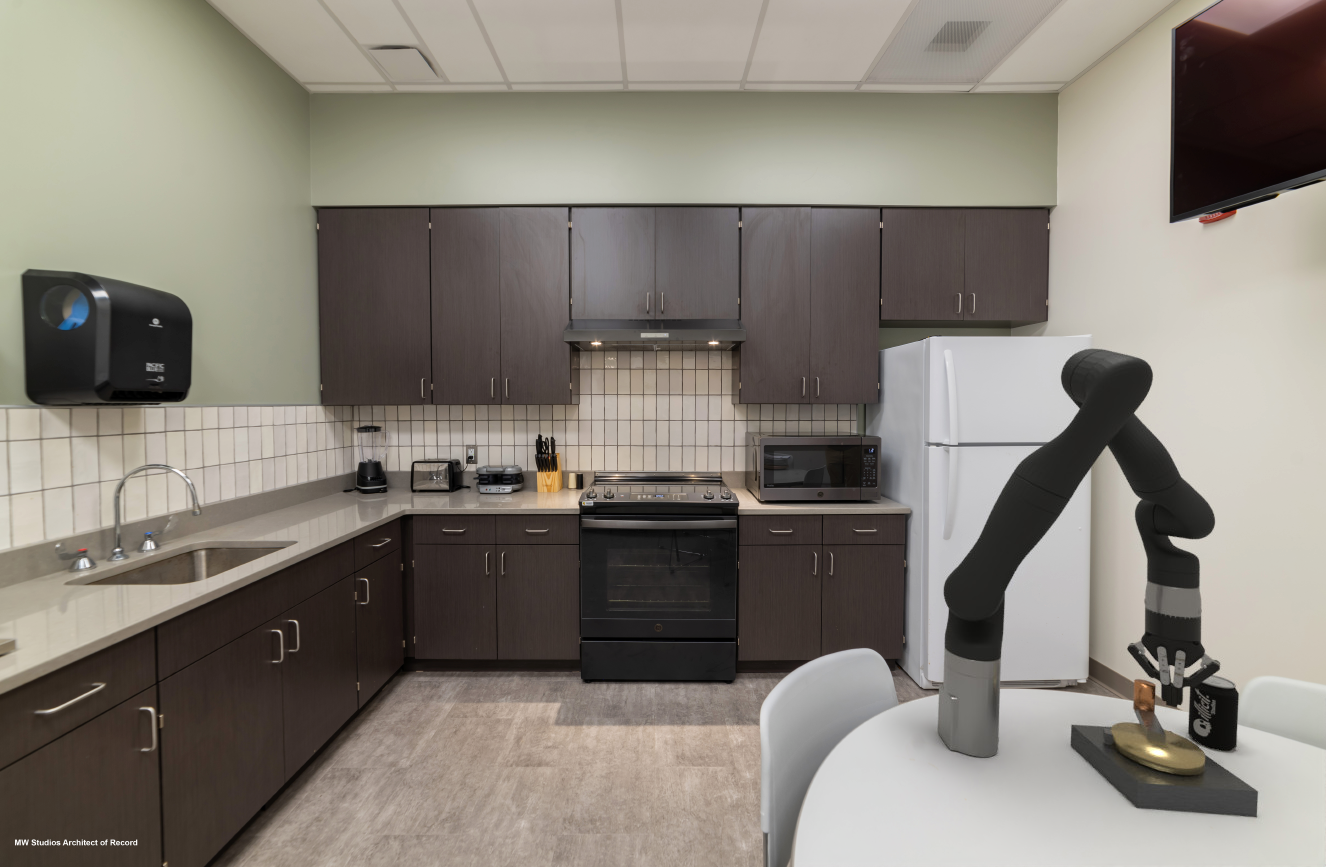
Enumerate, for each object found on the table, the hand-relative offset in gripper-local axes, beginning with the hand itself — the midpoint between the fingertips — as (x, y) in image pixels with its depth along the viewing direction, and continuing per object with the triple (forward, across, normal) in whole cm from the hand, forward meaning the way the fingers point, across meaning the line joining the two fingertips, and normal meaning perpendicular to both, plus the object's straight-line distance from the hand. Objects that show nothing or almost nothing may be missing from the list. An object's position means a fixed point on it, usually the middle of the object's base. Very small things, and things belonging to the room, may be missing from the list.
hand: (1171, 704), depth 103 cm
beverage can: (+10, -5, -12) cm, 16 cm away
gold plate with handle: (+5, +2, +7) cm, 9 cm away
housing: (+9, +1, +10) cm, 14 cm away
